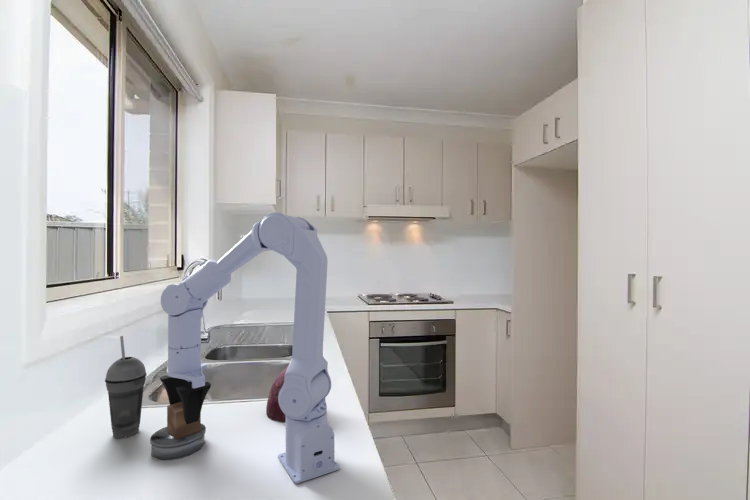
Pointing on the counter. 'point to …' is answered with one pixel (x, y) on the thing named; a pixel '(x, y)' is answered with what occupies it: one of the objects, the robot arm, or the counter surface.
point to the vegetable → (276, 399)
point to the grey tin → (175, 444)
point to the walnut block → (180, 422)
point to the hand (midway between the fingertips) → (184, 416)
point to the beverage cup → (125, 394)
